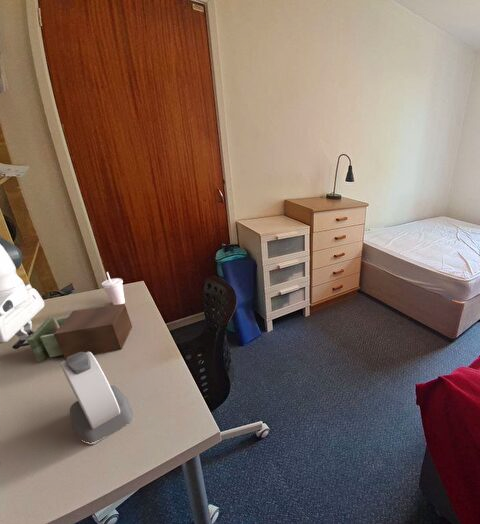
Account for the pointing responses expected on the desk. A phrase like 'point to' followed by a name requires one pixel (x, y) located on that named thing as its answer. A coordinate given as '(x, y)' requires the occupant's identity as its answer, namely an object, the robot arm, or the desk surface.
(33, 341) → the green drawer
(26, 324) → the robot arm
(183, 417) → the desk surface
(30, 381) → the desk surface
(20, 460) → the desk surface
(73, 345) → the cabinet
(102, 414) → the headphone stand
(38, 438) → the desk surface
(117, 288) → the smoothie
